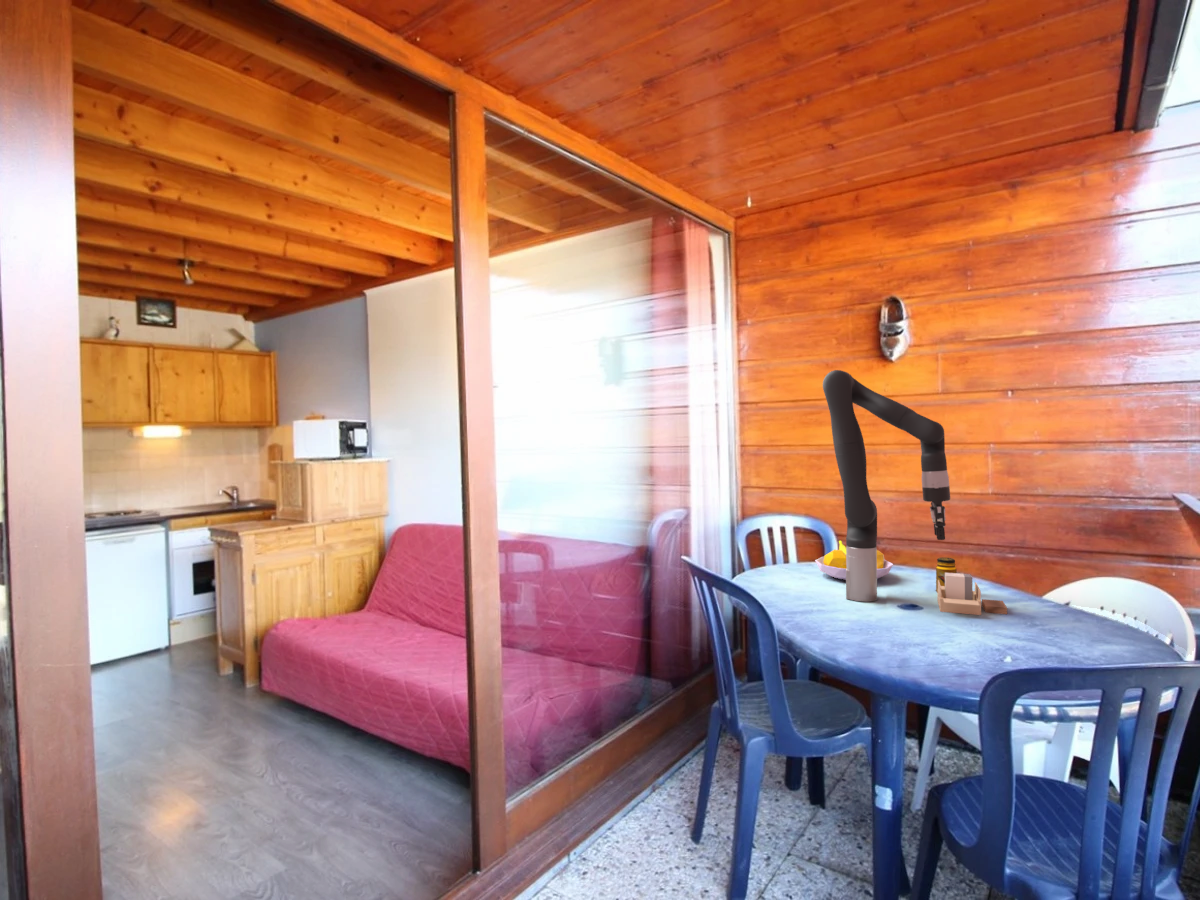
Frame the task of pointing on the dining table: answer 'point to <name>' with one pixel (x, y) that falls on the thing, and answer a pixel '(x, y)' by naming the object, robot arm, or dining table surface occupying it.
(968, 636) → the dining table surface
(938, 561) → the condiment
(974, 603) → the wooden tray
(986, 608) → the stand
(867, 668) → the dining table surface
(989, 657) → the dining table surface
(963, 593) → the box
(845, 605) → the dining table surface
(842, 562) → the fruit bowl
